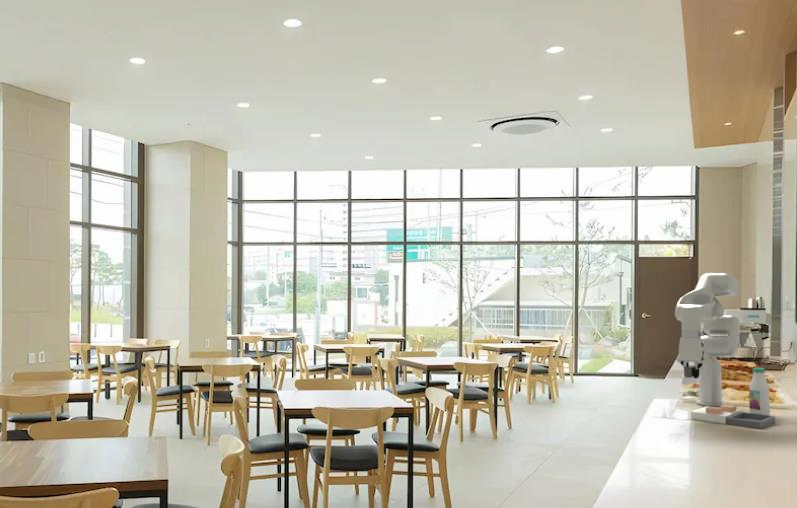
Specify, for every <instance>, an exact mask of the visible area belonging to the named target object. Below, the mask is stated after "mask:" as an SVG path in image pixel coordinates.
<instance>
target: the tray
mask: <svg viewBox="0 0 797 508" xmlns="http://www.w3.org/2000/svg"><path fill="white" fill-rule="evenodd" d="M775 423H776V416H775V415H771V414H770V415H762V414H754V413H750V412H744V411H740V413H737V414H735V415H732V416H730V417H727V423H726V424H727V425H731V426H740V427H747V428H754V429H759V430H761V429H764V428H766V427H768V426H771V425H772V424H775Z"/></svg>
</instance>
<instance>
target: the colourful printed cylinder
mask: <svg viewBox="0 0 797 508" xmlns="http://www.w3.org/2000/svg"><path fill="white" fill-rule="evenodd" d="M752 374H753V376H752V378H751V381H750V383H749V387H748V389H749V391H748V392H749V394H748V397H749V399H748V401H749V413H754V414H762V415H770V416H771V413H770V412H771V406H770V405H771V404H770V403H771V402H770V400H771V399H770V387H769V383H768V381H767V379H766V377H765V374H766V370H765V368H764V367H753V368H752Z"/></svg>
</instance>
